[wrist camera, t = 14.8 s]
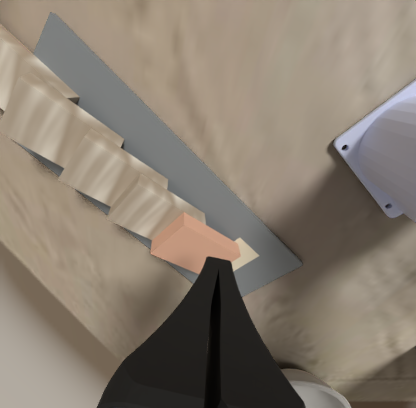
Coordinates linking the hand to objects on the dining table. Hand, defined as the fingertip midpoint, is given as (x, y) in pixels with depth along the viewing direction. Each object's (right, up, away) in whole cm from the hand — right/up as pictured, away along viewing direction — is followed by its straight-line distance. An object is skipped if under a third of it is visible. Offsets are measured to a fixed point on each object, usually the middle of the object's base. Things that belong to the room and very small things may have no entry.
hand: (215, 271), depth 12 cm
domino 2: (-10, +8, +8) cm, 15 cm away
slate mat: (-5, +4, +10) cm, 12 cm away
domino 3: (-6, +4, +9) cm, 12 cm away
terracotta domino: (+1, -3, +12) cm, 12 cm away
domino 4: (-2, +1, +10) cm, 11 cm away
